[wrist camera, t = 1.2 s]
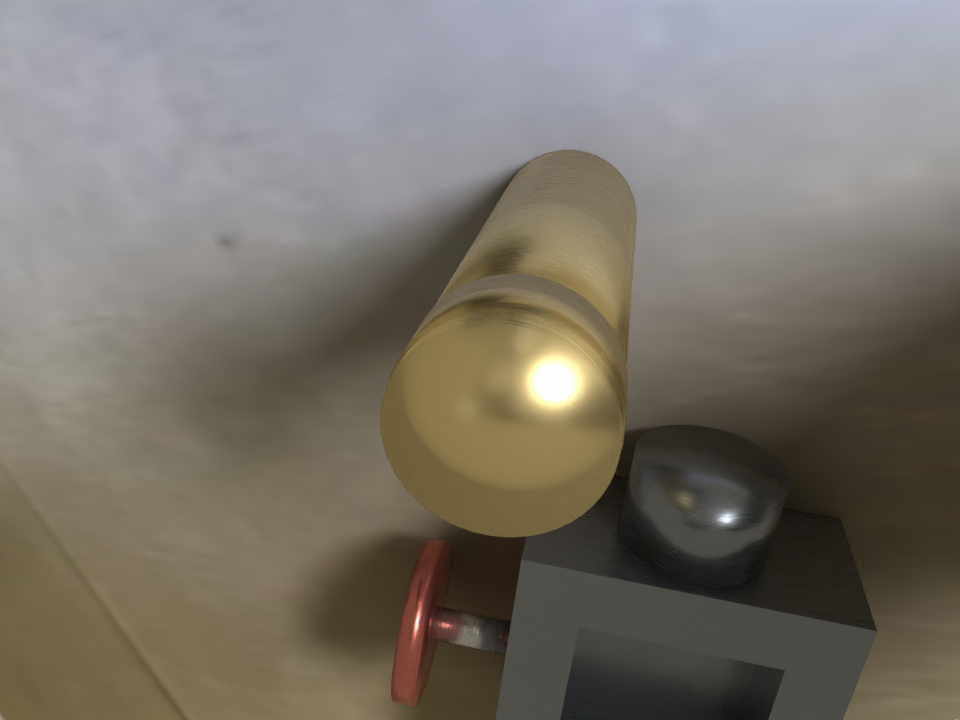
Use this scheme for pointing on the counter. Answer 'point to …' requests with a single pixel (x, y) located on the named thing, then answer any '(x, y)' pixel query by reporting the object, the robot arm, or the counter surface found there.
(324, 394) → the counter surface
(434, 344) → the fitting
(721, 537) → the valve body
